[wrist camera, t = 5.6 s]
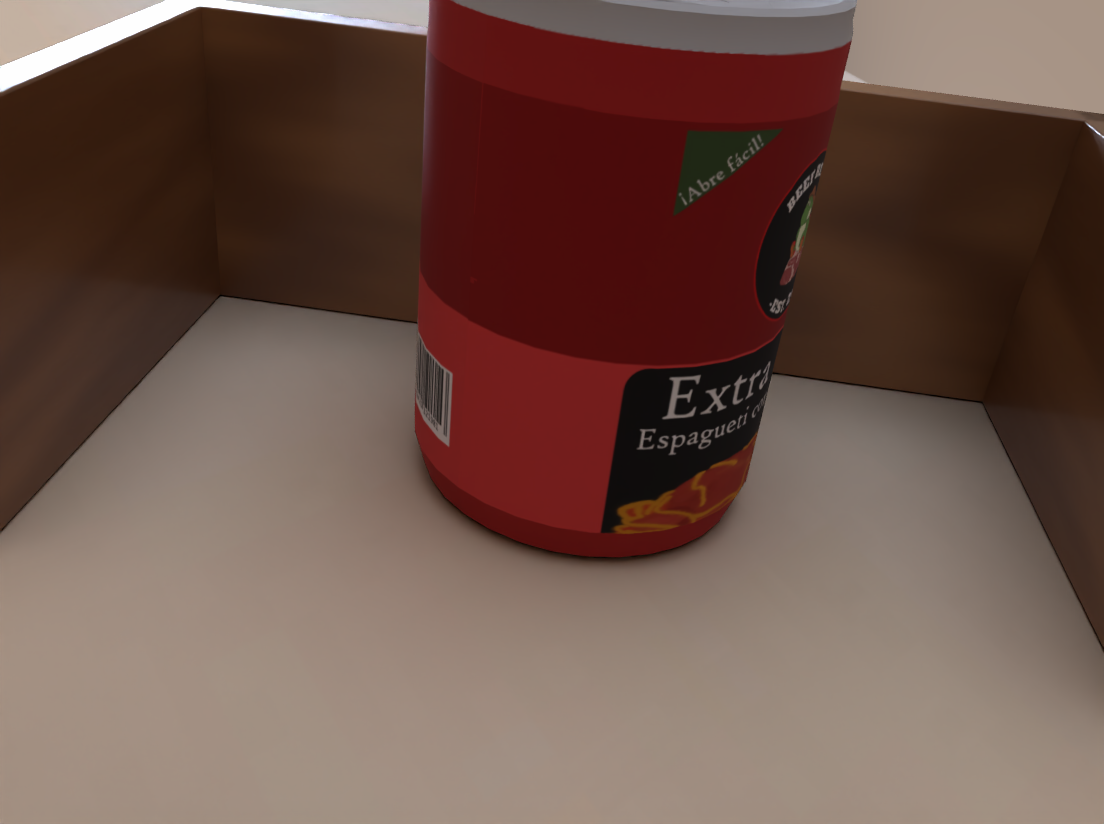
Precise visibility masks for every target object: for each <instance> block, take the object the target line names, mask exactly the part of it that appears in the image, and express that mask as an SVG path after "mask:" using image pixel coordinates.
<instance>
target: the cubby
mask: <svg viewBox="0 0 1104 824" xmlns="http://www.w3.org/2000/svg"><path fill="white" fill-rule="evenodd" d="M427 32H428V27H423V26H415V25H407V24H399V23H392V22H384V21H376V20H368V19H361V18H353V17H345V16H337V15H329V14H322V13H314V12H306V11H298V10H291V9H283V8H275V7H267V6H260V5H252V4H244V3H236V2H228V1H221V0H166V1H164V2H163V3H160V4H157V5H155V6H152V7H150V8H147V9H145V10H142V11H140V12H137V13H135V14H132V15H130V16H127V17H125V18H122V19H120V20H117V21H115V22H112V23H110V24H107V25H105V26H102V27H100V28H97V29H94V30H92V31H89V32H87V33H84V34H82V35H79V36H77V37H74V38H72V39H69V40H67V41H64V42H62V43H59V44H57V45H54V46H52V47H49V48H47V49H44V50H42V51H39V52H37V53H34V54H31V55H29V56H26V57H24V58H21V59H19V60H16V61H14V62H11V63H9V64H6V65H4V66H1V67H0V530H1V529H2V528H3V527H4V526H5V525H6V524H7V523H8V522H9V521H10V520H11V519H12V518H13V516H14V515H15V514H16V513H17V512H18V511H19V510H20V509H21V508H22V507H23V506H24V505H25V504H26V502H27V501H28V500H29V499H30V498H31V497H32V496H33V495H34V494H35V493H36V492H37V491H38V490H39V489H40V487H41V486H42V485H43V484H44V483H45V482H46V481H47V480H48V479H49V478H50V477H51V476H52V475H53V473H54V472H55V471H56V470H57V469H58V468H59V467H60V466H61V465H62V464H63V463H64V462H65V461H66V460H67V458H68V457H69V456H70V455H71V454H72V453H73V452H74V451H75V450H76V449H77V448H78V447H79V446H80V444H81V443H82V442H83V441H84V440H85V439H86V438H87V437H88V436H89V435H90V434H91V433H92V432H93V430H94V429H95V428H96V427H97V426H98V425H99V424H100V423H101V422H102V421H103V420H104V419H105V418H106V417H107V415H108V414H109V413H110V412H111V411H112V410H113V409H114V408H115V407H116V406H117V405H118V404H119V403H120V401H121V400H122V399H123V398H124V397H125V396H126V395H127V394H128V393H129V392H130V391H131V390H132V389H133V388H134V386H135V385H136V384H137V383H138V382H139V381H140V380H141V379H142V378H143V377H144V376H145V375H146V374H147V372H148V371H149V370H150V369H151V368H152V367H153V366H154V365H155V364H156V363H157V362H158V361H159V360H160V359H161V357H162V356H163V355H164V354H165V353H166V352H167V351H168V350H169V349H170V348H171V347H172V346H173V345H174V343H175V342H176V341H177V340H178V339H179V338H180V337H181V336H182V335H183V334H184V333H185V332H186V331H187V329H188V328H189V327H190V326H191V325H192V324H193V323H194V322H195V321H196V320H197V319H198V318H199V317H200V316H201V314H202V313H203V312H204V311H205V310H206V309H207V308H208V307H209V306H210V305H211V304H212V303H213V302H214V300H215V299H216V298H217V297H218V296H219V295H220V294H221V295H228V296H235V297H242V298H249V299H256V300H263V301H270V302H277V303H285V304H292V305H299V306H306V307H313V308H320V309H327V310H334V311H341V312H349V313H356V314H363V315H370V316H377V317H384V318H391V319H398V320H405V321H413V322H418V296H419V264H420V233H421V202H422V171H423V139H424V108H425V77H426V45H427ZM773 372H775V373H782V374H789V375H797V376H804V377H811V378H818V379H825V380H832V381H839V382H846V383H853V384H861V385H868V386H875V387H882V388H889V389H896V390H903V391H910V392H917V393H924V394H932V395H939V396H946V397H953V398H960V399H967V400H974V401H981V402H983V404H984V406H985V408H986V410H987V412H988V414H989V416H990V418H991V420H992V422H993V424H994V426H995V428H996V430H997V432H998V434H999V436H1000V438H1001V440H1002V442H1003V444H1004V446H1005V448H1006V450H1007V453H1008V455H1009V457H1010V459H1011V461H1012V463H1013V465H1014V467H1015V469H1016V471H1017V473H1018V475H1019V477H1020V479H1021V481H1022V483H1023V485H1024V487H1025V489H1026V491H1027V493H1028V495H1029V497H1030V499H1031V501H1032V503H1033V505H1034V507H1035V509H1036V512H1037V514H1038V516H1039V518H1040V520H1041V522H1042V524H1043V526H1044V528H1045V530H1046V532H1047V534H1048V536H1049V538H1050V540H1051V542H1052V544H1053V546H1054V548H1055V550H1056V552H1057V554H1058V556H1059V558H1060V560H1061V562H1062V564H1063V566H1064V568H1065V571H1066V573H1067V575H1068V577H1069V579H1070V581H1071V583H1072V585H1073V587H1074V589H1075V591H1076V593H1077V595H1078V597H1079V599H1080V601H1081V603H1082V605H1083V607H1084V609H1085V611H1086V613H1087V615H1088V617H1089V619H1090V621H1091V623H1092V625H1093V627H1094V629H1095V632H1096V634H1097V636H1098V638H1099V640H1100V642H1101V644H1102V646H1103V648H1104V114H1099V113H1091V112H1083V111H1076V110H1068V109H1059V108H1052V107H1044V106H1037V105H1029V104H1021V103H1013V102H1006V101H998V100H990V99H982V98H974V97H967V96H959V95H951V94H944V93H936V92H928V91H920V90H912V89H904V88H897V87H889V86H881V85H874V84H866V83H858V82H850V81H842V83H841V89H840V95H839V101H838V105H837V109H836V114H835V118H834V122H833V126H832V130H831V134H830V138H829V142H828V146H827V150H826V155H825V159H824V163H823V167H822V171H821V175H820V179H819V183H818V187H817V191H816V196H815V200H814V204H813V208H812V212H811V216H810V220H809V224H808V228H807V232H806V236H805V241H804V245H803V249H802V253H801V257H800V261H799V265H798V269H797V273H796V277H795V282H794V286H793V290H792V294H791V298H790V302H789V306H788V310H787V314H786V318H785V323H784V327H783V331H782V335H781V339H780V343H779V347H778V351H777V355H776V359H775V363H774V368H773Z"/></svg>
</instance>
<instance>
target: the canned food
mask: <svg viewBox="0 0 1104 824" xmlns="http://www.w3.org/2000/svg"><path fill="white" fill-rule="evenodd" d="M856 3H857V0H429V22H428V32H427V45H426V77H425V108H424V139H423V171H422V202H421V233H420V264H419V296H418V327H417V358H416V389H415V433H416V436H417V439H418V442H419V445H420V449H421V452H422V455H423V458H424V461H425V464H426V467H427V469H428V472H429V474H430V477H431V479H432V480H433V482H434V483H435V484H436V486H437V487H438V488H439V490H440V491H441V493H442V494H443V495H444V496H445V497H446V498H447V499H448V500H449V501H450V502H451V503H453V504H454V505H455V506H456V507H457V508H458V509H459V510H460V511H462V512H463V513H464V514H466V515H467V516H469V517H471V518H472V519H474V520H475V521H477V522H479V523H480V524H482V525H484V526H485V527H487V528H488V529H491V530H493V531H495V532H498V533H500V534H502V535H505V536H507V537H509V538H512V539H514V540H516V541H519V542H521V543H525V544H528V545H532V546H535V547H539V548H542V549H546V550H549V551H554V552H560V553H566V554H573V555H579V556H590V557H626V556H635V555H645V554H653V553H656V552H660V551H664V550H668V549H671V548H675V547H679V546H681V545H683V544H685V543H688V542H690V541H692V540H694V539H696V538H698V537H700V536H702V535H703V534H705V533H706V532H707V531H708V530H709V529H711V528H712V527H713V526H714V525H716V524H717V523H718V522H719V521H720V519H721V518H722V516H723V515H724V513H725V512H726V510H727V509H728V507H729V506H730V504H731V503H732V501H733V500H734V498H735V497H736V495H737V494H738V492H739V490H740V489H741V487H742V486H743V484H744V483H745V481H746V478H747V474H748V470H749V466H750V462H751V458H752V454H753V450H754V445H755V441H756V437H757V433H758V429H759V425H760V421H761V417H762V413H763V409H764V404H765V400H766V396H767V392H768V388H769V384H770V380H771V376H772V372H773V368H774V363H775V359H776V355H777V351H778V347H779V343H780V339H781V335H782V331H783V327H784V323H785V318H786V314H787V310H788V306H789V302H790V298H791V294H792V290H793V286H794V282H795V277H796V273H797V269H798V265H799V261H800V257H801V253H802V249H803V245H804V241H805V236H806V232H807V228H808V224H809V220H810V216H811V212H812V208H813V204H814V200H815V196H816V191H817V187H818V183H819V179H820V175H821V171H822V167H823V163H824V159H825V155H826V150H827V146H828V142H829V138H830V134H831V130H832V126H833V122H834V118H835V114H836V109H837V105H838V101H839V95H840V89H841V83H842V79H843V75H844V71H845V66H846V62H847V58H848V54H849V49H850V45H851V41H852V35H853V17H854V12H855V8H856Z"/></svg>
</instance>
